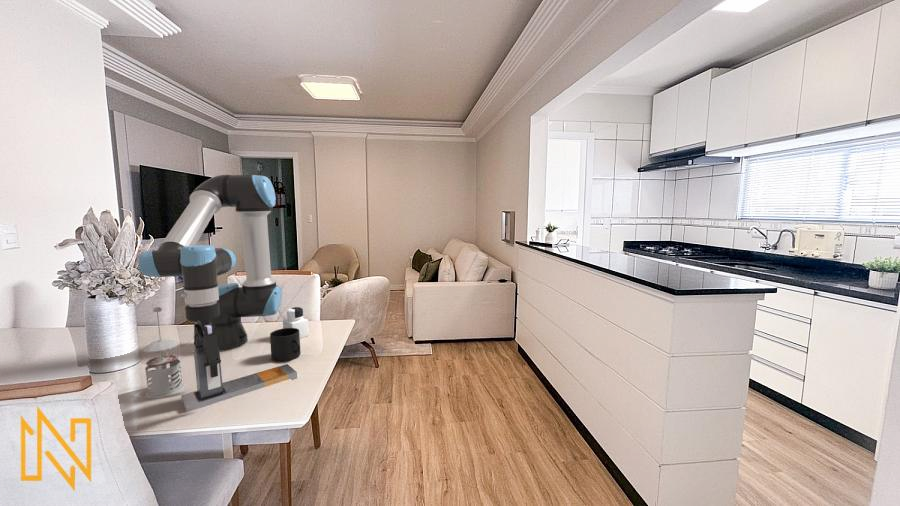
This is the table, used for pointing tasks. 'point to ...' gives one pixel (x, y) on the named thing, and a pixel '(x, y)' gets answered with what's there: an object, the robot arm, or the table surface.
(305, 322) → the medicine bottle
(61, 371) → the table surface
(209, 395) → the graphite post
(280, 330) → the mug
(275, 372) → the rail
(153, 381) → the french press
